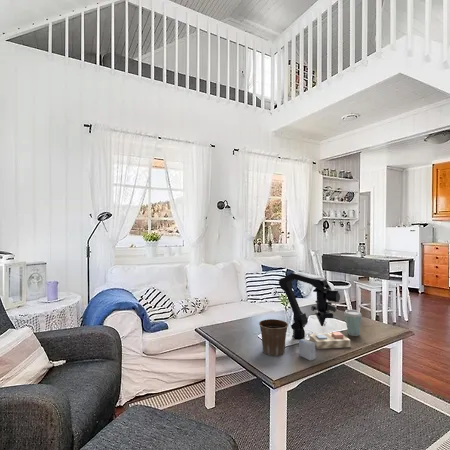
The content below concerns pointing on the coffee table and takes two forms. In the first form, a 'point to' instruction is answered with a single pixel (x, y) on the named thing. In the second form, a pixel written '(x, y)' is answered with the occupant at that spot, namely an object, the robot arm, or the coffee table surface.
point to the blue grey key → (321, 337)
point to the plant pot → (273, 336)
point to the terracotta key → (337, 335)
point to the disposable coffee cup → (353, 321)
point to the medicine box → (307, 349)
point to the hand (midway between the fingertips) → (322, 325)
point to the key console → (329, 341)
